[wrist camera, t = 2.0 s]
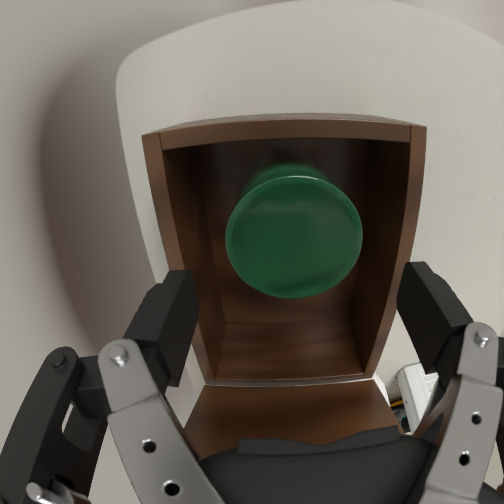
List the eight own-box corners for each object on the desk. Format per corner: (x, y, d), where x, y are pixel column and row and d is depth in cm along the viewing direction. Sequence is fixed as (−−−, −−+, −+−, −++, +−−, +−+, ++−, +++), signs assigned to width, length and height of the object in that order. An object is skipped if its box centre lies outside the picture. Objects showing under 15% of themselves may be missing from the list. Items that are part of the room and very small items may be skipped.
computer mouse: (435, 406, 39) (443, 429, 34) (360, 420, 40) (364, 447, 35) (456, 381, 35) (466, 406, 30) (375, 396, 36) (381, 427, 31)
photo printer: (392, 382, 34) (410, 453, 23) (400, 365, 32) (422, 442, 21) (448, 368, 33) (472, 431, 22) (457, 351, 31) (486, 417, 20)
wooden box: (185, 122, 19) (140, 135, 12) (375, 115, 18) (427, 126, 11) (218, 322, 29) (205, 384, 22) (355, 317, 28) (372, 378, 21)
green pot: (239, 147, 19) (216, 180, 11) (328, 144, 19) (368, 175, 11) (246, 227, 22) (233, 300, 15) (327, 224, 22) (354, 296, 14)
